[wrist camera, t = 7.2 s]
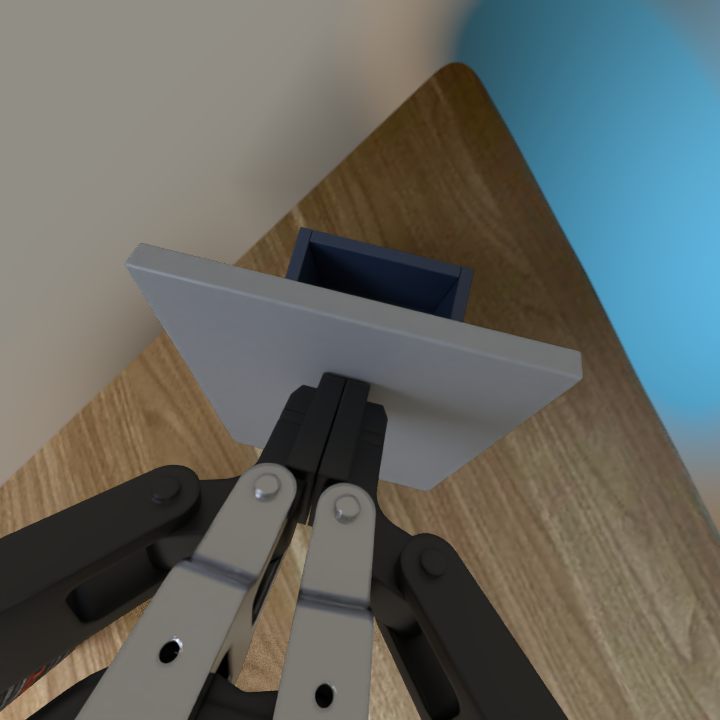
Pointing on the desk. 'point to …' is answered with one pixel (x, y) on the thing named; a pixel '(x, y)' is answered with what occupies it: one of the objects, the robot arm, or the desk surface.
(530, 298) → the desk surface
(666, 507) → the desk surface
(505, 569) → the desk surface
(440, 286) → the lidded storage box
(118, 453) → the desk surface
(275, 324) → the lid
